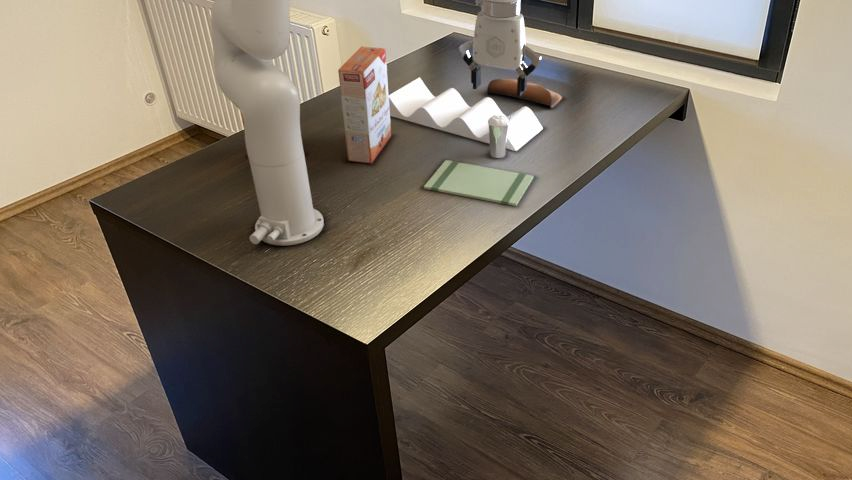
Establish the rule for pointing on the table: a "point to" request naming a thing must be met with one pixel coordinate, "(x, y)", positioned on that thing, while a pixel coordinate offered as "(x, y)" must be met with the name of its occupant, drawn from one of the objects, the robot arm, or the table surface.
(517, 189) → the towel
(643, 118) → the table surface
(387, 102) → the cracker box
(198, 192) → the table surface
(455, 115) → the white wavy rack
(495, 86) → the sunglasses case
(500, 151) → the milkshake
